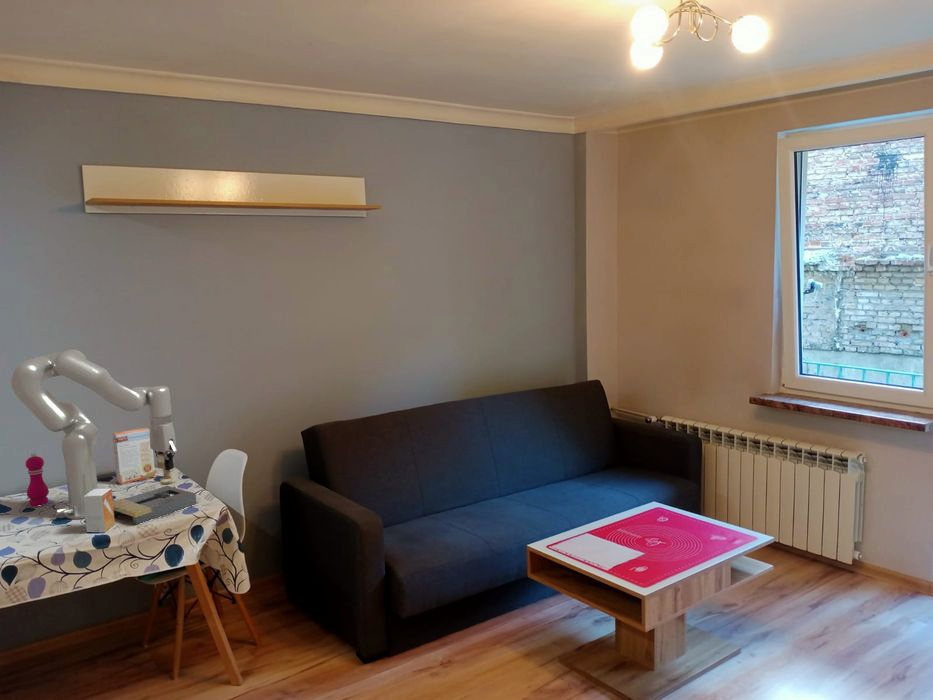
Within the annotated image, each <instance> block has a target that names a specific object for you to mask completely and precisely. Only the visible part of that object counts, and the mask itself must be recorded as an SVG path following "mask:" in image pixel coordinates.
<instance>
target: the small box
mask: <svg viewBox="0 0 933 700" xmlns="http://www.w3.org/2000/svg"><path fill="white" fill-rule="evenodd" d="M113 499H114V497H113V488H111V487H110V488H98V489H93V490H92V491H91V492H89V493H88V494H86V495H85V496H84V507H85V518H84V519H85V527H86V528H85V529H86V533H87V532H100V533H106V532H107V531H108V530H110V529H111V528H112V527H113V526H114V525H115V524H116V522H115V515H114V509H113V502H114V500H113ZM111 526H112V527H111Z"/></svg>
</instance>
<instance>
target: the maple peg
mask: <svg viewBox="0 0 933 700" xmlns="http://www.w3.org/2000/svg"><path fill="white" fill-rule="evenodd" d="M167 453H168V454H169V453H170V452H167ZM174 458H175V457H174ZM174 458H173V461H174V462H175V459H174ZM165 459H166V458H165V454H164V453H162V454H158V455H157V457H156V461H157V460H158V463H157V468H158V469H162V471H163V472H162V473H163V476H162V477H161V478H160V485H162V486H169V485H173V484H175V483H176V477H175V476H173V475H172V474H171V469H170V470H166V469H165Z"/></svg>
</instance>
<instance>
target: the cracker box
mask: <svg viewBox="0 0 933 700" xmlns="http://www.w3.org/2000/svg"><path fill="white" fill-rule="evenodd" d="M111 435H112V443H113V444H112V445H113V446H112V447H113V453H114V454H113V455H114V464H115V473H116V481H118V482H117V483H119V484H120V485H125V484H124V483H126V484H129V483H128V482H130V483H133V482H132V481H135V482H138V481H137V480H139V481H142V480H141V479H144V480H146V479H145V478H149V477H154V476H155V477H156V469H155V467H156V466H155V458H154V457H155V456H154V450H152V449H151V448H150V427H149V428H148V427H142V428H135V429H131V430H124V431H120V432H119V431H117V432H114V433H112V434H111ZM155 477H154V478H155ZM149 479H150V478H149Z"/></svg>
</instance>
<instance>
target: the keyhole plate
mask: <svg viewBox="0 0 933 700" xmlns="http://www.w3.org/2000/svg"><path fill="white" fill-rule="evenodd" d="M195 504H197V494H196V493H195V492H192V491H187V490H184V489H181V488H178V487H177V488H176V487H173V486H169V485H164V486H162V487H159V488H155V489H151V490H149V491H144V492H142V493H139V494H134V495H132V496H129V497H128V496H127V497H126V498H123V499H119V500H115V501H113V509H114V516H117V515H121V514H125V515H127V516H130V517H132V521H133V526H135V525H137V526H139V525H138V524H140V523H143V522H146V521H149V520H151V519H155V518H158V517H160V516H163V515H166V516H168V515H167V514H169V515H171V514H170V513H172V514H174V513H173V512H175V511H178V510H181V509H184V508H186V507H189V506H192V505H195ZM184 510H185V509H184ZM181 511H182V510H181ZM178 512H179V511H178ZM175 513H176V512H175ZM158 519H159V518H158ZM155 520H156V519H155ZM149 522H150V521H149ZM146 523H147V522H146ZM143 524H144V523H143ZM140 525H141V524H140Z"/></svg>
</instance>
